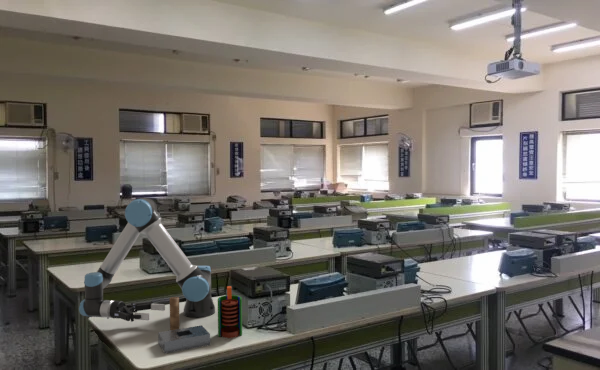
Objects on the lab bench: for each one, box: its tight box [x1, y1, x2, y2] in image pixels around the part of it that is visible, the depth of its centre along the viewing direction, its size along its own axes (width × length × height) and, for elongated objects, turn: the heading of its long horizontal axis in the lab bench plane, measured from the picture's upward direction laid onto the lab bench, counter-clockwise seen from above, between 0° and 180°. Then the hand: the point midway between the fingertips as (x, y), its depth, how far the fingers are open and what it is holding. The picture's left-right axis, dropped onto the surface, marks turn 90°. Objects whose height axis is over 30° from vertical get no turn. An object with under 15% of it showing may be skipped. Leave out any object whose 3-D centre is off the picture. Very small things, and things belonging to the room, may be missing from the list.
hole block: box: [157, 324, 211, 354], centre depth 195 cm, size 18×12×4 cm, turn 117°
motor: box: [217, 285, 243, 339], centre depth 206 cm, size 10×9×20 cm
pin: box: [169, 296, 181, 331], centre depth 209 cm, size 4×4×15 cm
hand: (157, 312), depth 211 cm, fingers open, 13 cm apart
